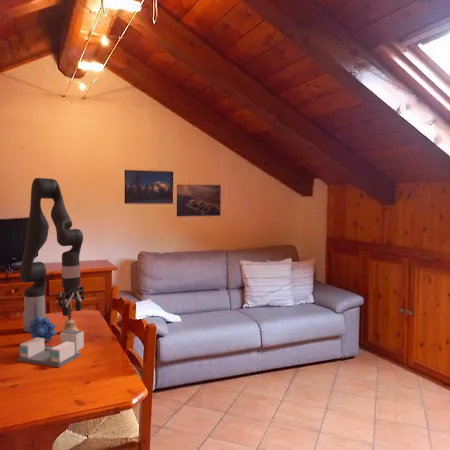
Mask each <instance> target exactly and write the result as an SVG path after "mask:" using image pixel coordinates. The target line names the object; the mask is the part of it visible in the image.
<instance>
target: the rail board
mask: <svg viewBox="0 0 450 450" xmlns="http://www.w3.org/2000/svg"><path fill="white" fill-rule="evenodd" d="M18 353H19V354H20V355H19V356H17V362H23V363H28V364H35V365H43V366H48V367H56V368H61V367H63V366H64V365H66V364H69V363H70V362H71V361H74V360H76V359H77V358H79V357H81V349H80V350H75V342H67V341H66V342H64V343H62V344H61V343H59V344H58V345H56V346H52V345H47V344H46V345H45V341H44V338H37V337H36V338H34V339H33V338H32V339H29V340H27V341H24V342H22V343H20V344H19V346H18Z"/></svg>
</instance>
